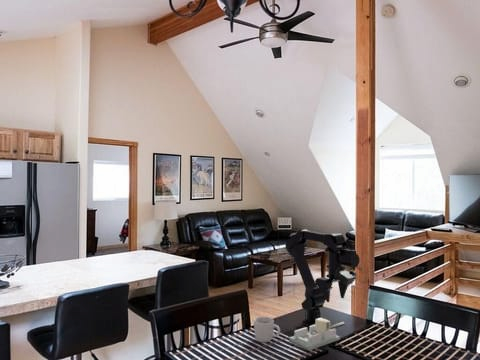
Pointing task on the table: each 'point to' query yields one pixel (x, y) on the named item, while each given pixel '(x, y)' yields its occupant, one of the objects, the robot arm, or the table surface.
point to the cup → (265, 329)
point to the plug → (321, 325)
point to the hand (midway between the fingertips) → (335, 300)
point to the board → (313, 337)
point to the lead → (337, 325)
